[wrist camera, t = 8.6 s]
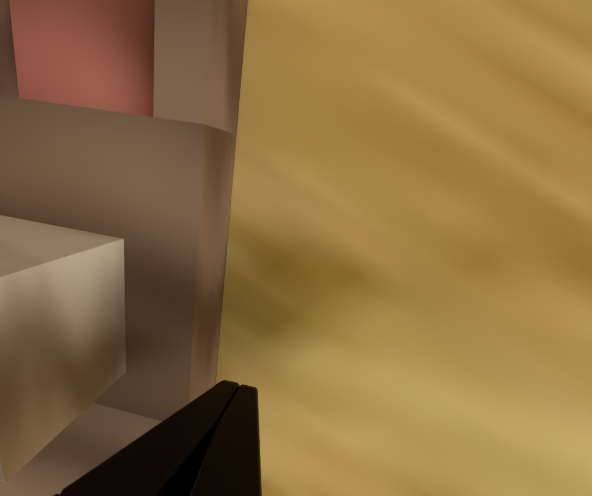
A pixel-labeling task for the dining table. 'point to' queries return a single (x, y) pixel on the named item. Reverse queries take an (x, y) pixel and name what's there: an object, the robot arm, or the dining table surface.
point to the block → (55, 331)
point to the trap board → (127, 187)
